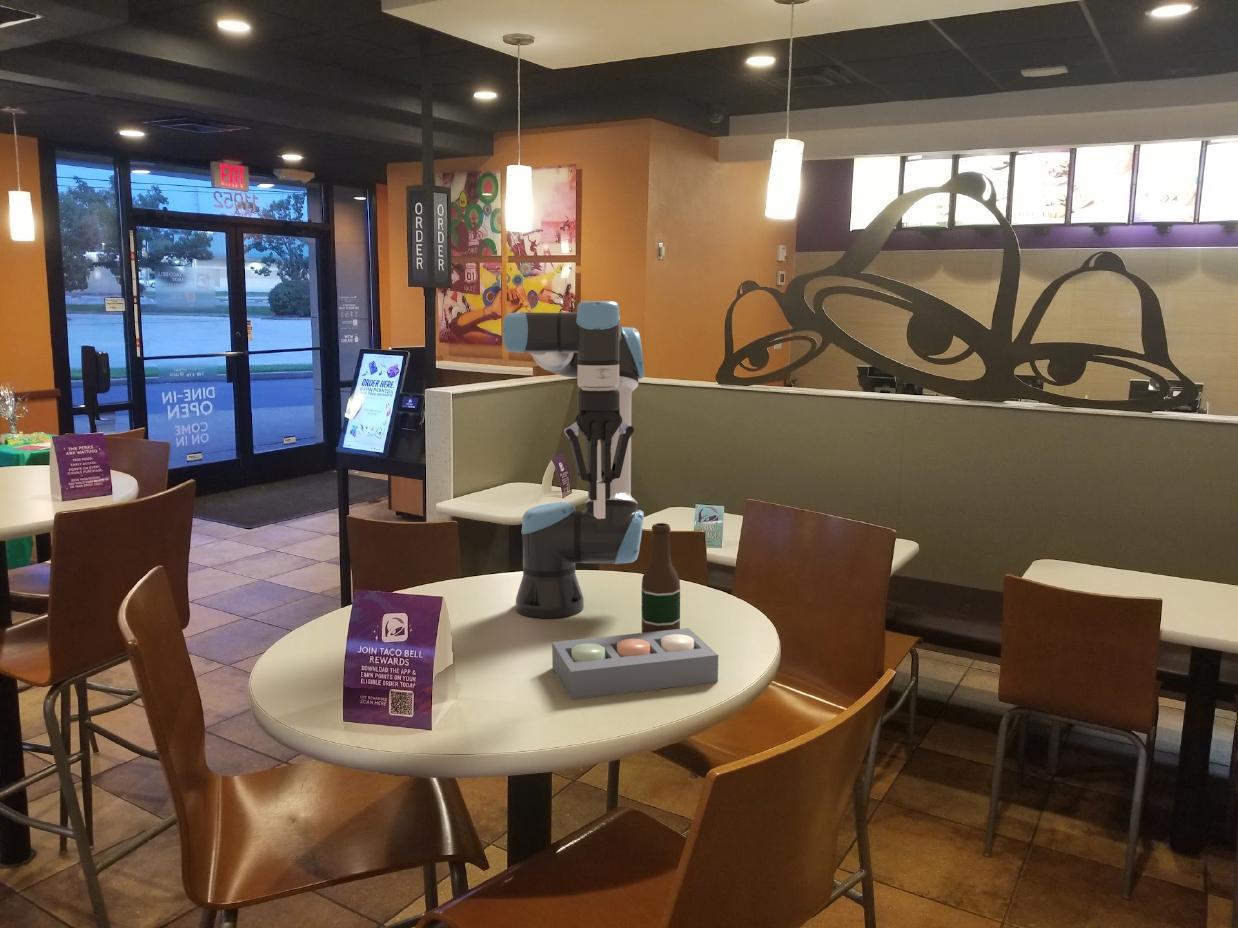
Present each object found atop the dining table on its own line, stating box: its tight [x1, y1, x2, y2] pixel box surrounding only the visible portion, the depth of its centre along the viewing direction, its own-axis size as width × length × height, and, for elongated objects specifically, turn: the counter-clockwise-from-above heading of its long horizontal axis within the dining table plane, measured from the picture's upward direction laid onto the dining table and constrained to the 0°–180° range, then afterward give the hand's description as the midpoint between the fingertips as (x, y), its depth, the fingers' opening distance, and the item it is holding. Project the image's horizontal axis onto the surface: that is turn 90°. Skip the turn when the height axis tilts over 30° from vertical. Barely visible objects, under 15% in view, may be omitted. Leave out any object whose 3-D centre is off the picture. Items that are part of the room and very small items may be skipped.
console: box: [551, 627, 719, 700], centre depth 172 cm, size 15×27×5 cm, turn 106°
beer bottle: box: [641, 522, 681, 633], centre depth 188 cm, size 8×8×24 cm
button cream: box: [661, 634, 694, 652], centre depth 174 cm, size 6×6×4 cm
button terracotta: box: [617, 639, 650, 657], centre depth 172 cm, size 6×6×4 cm
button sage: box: [572, 644, 605, 662], centre depth 169 cm, size 6×6×4 cm
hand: (599, 516), depth 173 cm, fingers closed
